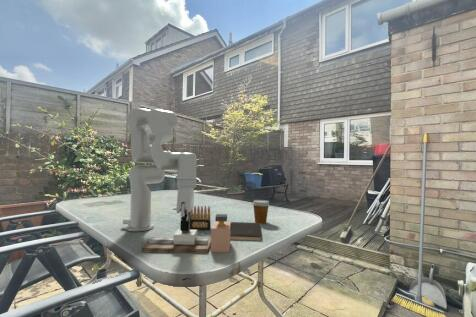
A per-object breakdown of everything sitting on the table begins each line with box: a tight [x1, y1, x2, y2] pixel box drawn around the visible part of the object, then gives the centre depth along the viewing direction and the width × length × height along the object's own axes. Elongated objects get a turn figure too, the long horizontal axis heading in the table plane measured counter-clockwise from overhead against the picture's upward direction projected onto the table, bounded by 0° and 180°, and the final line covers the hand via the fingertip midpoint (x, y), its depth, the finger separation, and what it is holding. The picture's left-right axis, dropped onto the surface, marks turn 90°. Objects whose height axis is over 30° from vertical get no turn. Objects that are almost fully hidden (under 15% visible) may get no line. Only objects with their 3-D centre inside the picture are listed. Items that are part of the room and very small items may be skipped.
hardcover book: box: [230, 221, 262, 241], centre depth 116 cm, size 16×23×2 cm
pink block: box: [210, 221, 232, 253], centre depth 95 cm, size 7×10×9 cm
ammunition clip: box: [190, 205, 212, 231], centre depth 119 cm, size 11×2×12 cm, turn 88°
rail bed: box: [141, 237, 211, 254], centre depth 95 cm, size 25×12×3 cm, turn 90°
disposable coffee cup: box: [252, 199, 270, 224], centre depth 135 cm, size 10×10×12 cm
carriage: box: [172, 214, 198, 245], centre depth 95 cm, size 8×7×11 cm
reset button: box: [214, 213, 228, 226], centre depth 95 cm, size 4×4×5 cm
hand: (185, 228), depth 95 cm, fingers closed on carriage, 3 cm apart
